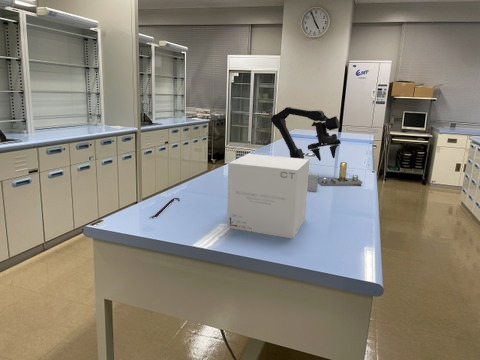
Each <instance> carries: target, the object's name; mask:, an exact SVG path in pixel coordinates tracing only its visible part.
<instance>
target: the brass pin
mask: <svg viewBox="0 0 480 360" xmlns="http://www.w3.org/2000/svg"><path fill="white" fill-rule="evenodd" d="M339 163H340V164H339V173H338V178H339V181H345V179H346V178H347V166H348V163H347V162H343V161H341V162H339Z"/></svg>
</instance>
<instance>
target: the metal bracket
mask: <svg viewBox="0 0 480 360" xmlns="http://www.w3.org/2000/svg"><path fill="white" fill-rule="evenodd" d="M362 184H363V181H362V180H361V179H359V175H357V174H353V175H352V177H346V179H345V181H339V177H331V178H330V179H328V177H327V176H321V180H320V179H318V185H319V186H321V187H327V186H328V187H340V186H341V187H353V186H358V187H360V186H362Z"/></svg>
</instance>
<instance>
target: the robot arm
mask: <svg viewBox="0 0 480 360" xmlns="http://www.w3.org/2000/svg"><path fill="white" fill-rule="evenodd" d="M290 115H291V116H292V115H293V116H298V117H303V118H307V119H308V120H311V121H313V122H312V123H311V127H315V132H316V135H315V138H317V141H318V142H315V143H310V144H308V145H307V150H309V151H310V152H312V153H313V154H314V155H315V157H316V158H317V160H319V162H320V161H322V158H321V157H322V156H321V152H320V150H321V147H325V146H329V149H330V153H331V157H332V158H333V159H335V158H336V152H337V148H338V146H340V144H342V143H341V140H340V139H339V138H338V135H337V133H332V134H331V135H330V133H329V132H328V131H332V130H336V129H337V130H338V129H340V127H341V123H340V120H339V119H338V116H337V115H336V116H333V117H330V118H329V117H328V116H327V115H325V112H324V111H323V110H321V109H320V110H307V109H300V108H296V107H295V108H294V107H291V106H287V107H285V108H283V110H280V111H279V112H278V113H276V114H273V115H272V116H271V123H272V124H273V126H274V127H275V128H276V129H278V131H279V133H280V135H281V136H282V138H283V140H284V143H285V144H286V147H287V149H288V150H289V158H299V159H305V153H304V152H303V150H302V148H298V147H297V145H296V144H295V141H294V139H293V137H292V135H291V133H290V131H289V129H288V127H287V122H286V119H287V118H288V117H289V116H290ZM327 130H328V131H327Z"/></svg>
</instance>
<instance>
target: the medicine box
mask: <svg viewBox="0 0 480 360" xmlns="http://www.w3.org/2000/svg"><path fill="white" fill-rule="evenodd" d="M318 180H319V173H312V172H309V174H308V187H307V192H315V193H317V191H318V185H319V184H318Z"/></svg>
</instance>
